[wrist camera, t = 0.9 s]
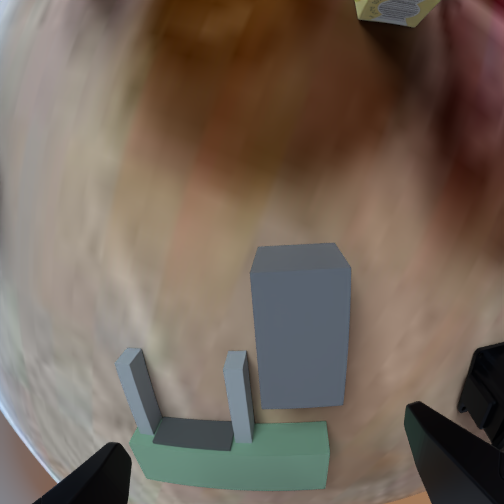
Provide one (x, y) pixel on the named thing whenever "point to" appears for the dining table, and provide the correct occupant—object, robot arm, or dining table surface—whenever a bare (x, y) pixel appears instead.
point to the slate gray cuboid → (301, 324)
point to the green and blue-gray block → (222, 438)
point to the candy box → (395, 11)
